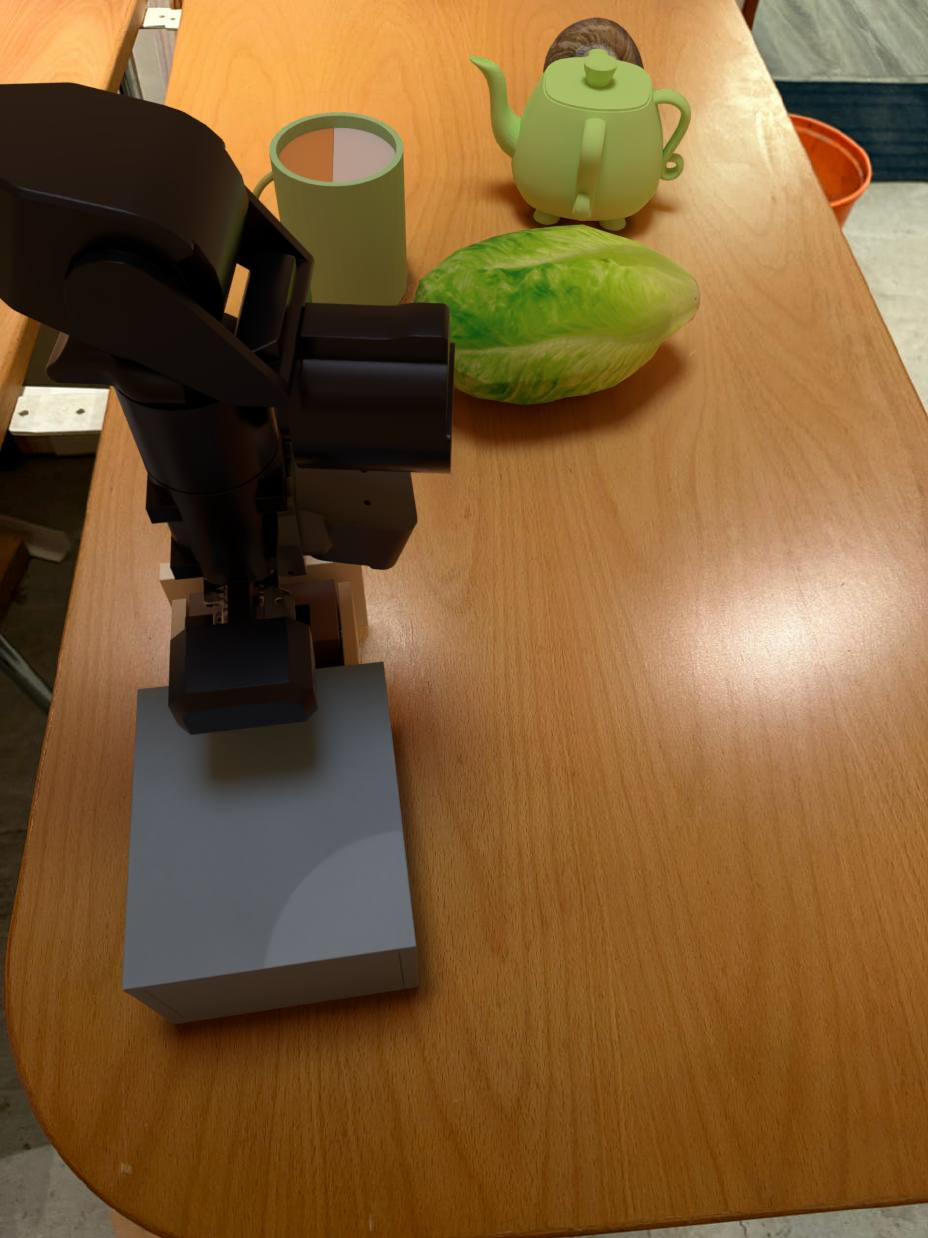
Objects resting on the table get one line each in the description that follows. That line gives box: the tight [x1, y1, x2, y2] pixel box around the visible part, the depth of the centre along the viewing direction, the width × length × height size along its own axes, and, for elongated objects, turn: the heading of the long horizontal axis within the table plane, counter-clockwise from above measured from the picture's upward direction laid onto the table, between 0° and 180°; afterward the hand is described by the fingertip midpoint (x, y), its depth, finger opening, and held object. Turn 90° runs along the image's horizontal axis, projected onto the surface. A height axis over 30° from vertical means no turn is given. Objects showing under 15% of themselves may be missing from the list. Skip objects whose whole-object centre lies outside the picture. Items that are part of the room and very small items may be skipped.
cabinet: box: [121, 660, 420, 1025], centre depth 46 cm, size 15×13×9 cm
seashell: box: [542, 16, 645, 74], centre depth 91 cm, size 11×9×8 cm
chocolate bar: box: [189, 579, 344, 669], centre depth 50 cm, size 4×8×4 cm, turn 98°
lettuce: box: [412, 224, 701, 406], centre depth 67 cm, size 13×23×12 cm, turn 103°
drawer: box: [158, 555, 369, 666], centre depth 52 cm, size 18×11×7 cm, turn 9°
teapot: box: [468, 49, 692, 231], centre depth 80 cm, size 16×14×13 cm
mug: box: [251, 111, 408, 306], centre depth 73 cm, size 13×10×12 cm
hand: (268, 637), depth 51 cm, fingers closed on chocolate bar, 4 cm apart
